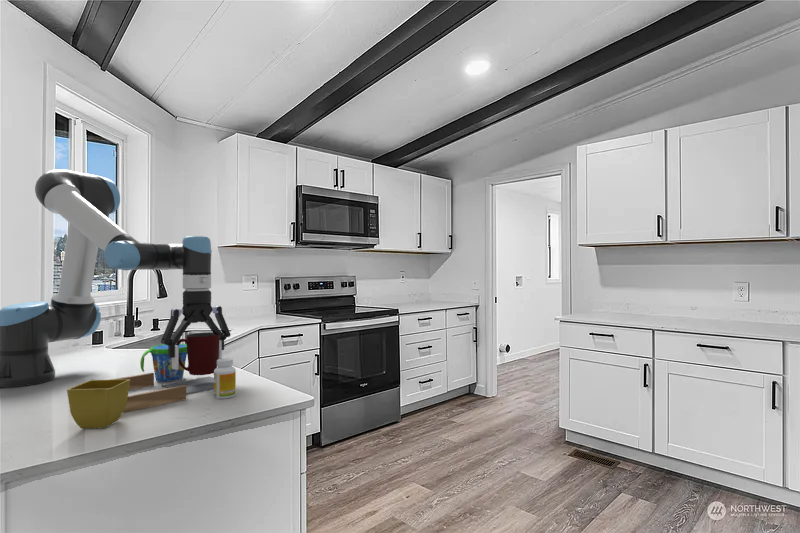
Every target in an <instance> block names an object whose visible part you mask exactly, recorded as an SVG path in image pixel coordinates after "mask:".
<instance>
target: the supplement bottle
mask: <svg viewBox="0 0 800 533" xmlns="http://www.w3.org/2000/svg"><path fill="white" fill-rule="evenodd" d="M233 365H234V359H233V358H227V357H226V358H222V359H218V360H217V368H216V369H215V370H214V373H213V378H214V389H213V398H214V399H219V400H224V399H231V398H233V397H235V396H236V394H237V390H236V385H237V384H236V382H237V381H236V373H237V372H236V367H234V366H233Z"/></svg>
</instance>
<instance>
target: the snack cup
mask: <svg viewBox="0 0 800 533" xmlns="http://www.w3.org/2000/svg"><path fill="white" fill-rule="evenodd" d="M149 353H150V354H151V357H152V364H153V365H152V366H153V373H154V379H155V380H156V381H158V382H166V383H167V382H174V381H179V380H181V379H182V378H183V377H184V374H185V370H184V369H183V368H182V367H181V365H180V364H179V369H178V370H175V369H172V358H170V357H169V356H168V345H165V344H156V345H152V346H151V347H150V348H149V349H147V350H145V351H144V353H143V354H142V355H141V358H140V369H141V371H142V372H143V373H144V372H145V369H144V368H145V357H146V356H147V355H148V354H149ZM179 356H180V359H181V362H182V363H183V365H184V366H185V367H186V361H187V357H188V356H187V344H186V343H180V344H179Z"/></svg>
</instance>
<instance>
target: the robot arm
mask: <svg viewBox="0 0 800 533" xmlns="http://www.w3.org/2000/svg"><path fill="white" fill-rule="evenodd" d="M34 192H35V196H36V199H37V200H38V202H39V203H40V204H41V205H42V206H43V207H44V208H45V209H47V210H48V211H49V212H51V213H52V214H56V215H60V216H61V217H62V218H63V219H64V220H66V222H68V228H67V229H68V230H67V237H66V242H65V247H64V249H65V250H64V257H63V263H62V267H61V275H60V280H59V282H60V283H59V286H58V292H57V293H56V294H53V296H52V297H51V298H50V304H49V303H48V302H47V301H43V300H42V301H41V300H40V301H37V300H35V301H29V302H21V303H20V302H19V303H14V304H10V305H6V306H4V307H2V308H1V309H0V388H16V387H24V386H32V385H37V384H42V383H47V382H49V381H52V380H54V379H55V378H56V369H55V366H54V364H53V362H52V360H51V357H50V355H49V343H55V342H56V343H57V342H62V341H68V340H69V341H70V340H79V339H82V338H85V337H86V338H87V337H89V336H91V335H92V334H94V333H95V332H96V331H97V330H98V328H99V326H100V323H101V319H102V314H101V312H100V310H101V309H100V308H99V306H98V305H97V304H96V303H95V302H96V300H95V298H94V297H93V296H92V295H91V292H92V286H93V282H94V275H95V268H96V263H97V256H98V251H99V249H101V250H102V251H103V254H104V255H103V257H104V260H105V261H106V265H107V266H108V267H109V268H111V269H113V270H122V271H133V270H134V271H136V270H139V271H140V270H141V271H143V270H146V271H147V270H148V271H149V270H150V271H151V270H158V271H168V270H182V290H184V291H183V292H182V308H180V309H177V308H171V310H170V318H169V320H168V323H167V325H166V326H165V330H164V332H163V334H162V338H161V340H160V344H161V345H163V344H165V345H168V356H169V357H170V358H172V369H175V370H178V369H179V350H178V346H177V345H176V343H177V342H178V340H180V339H181V337H182V336H183V334H184V333H185V331H186V330H187V329H188V327H189V326H191V324H197V323H204V324H206V326H207V327H208V328H209V329H210V331H211V333H214V334H215V335H218V334H219V352H218V359H223V358H222V357H223V356H222V355H223V353H222V352H223V351H224V350H225V340H226V339H227V338H230V337H231V335H232V334H231V332H230V330H229V328H228V324H227V322H226V320H225V317H224V315H223V307H222V306H221V305H214V306H212V291H211V290H210V289H211V288H212V243H211V239H210V238H209V237H208V236H202V235H186V236H184V237H183V238H182V242H181V243H159V242H158V243H155V242H143V241H142V242H141V241H138V240H136V239H135V238H134V237H133V236H131V235H130V234H129V233H127V232H126V231H125V230H124V229H123V228H122V227H120V226H119V225H117V224H116V223H115V222H114V221H112V219H110V218H109V217H110V215H111V214H113V213H115V212H116V211H117V210H119V207H120V204H121V194H120V191H119V188H118V187H117V185H116V183H115V182H114V181H113V180H111V179H109V178H107V177H103V176H100V175H96V174H90V173H83V172H78V171H74V170H73V171H72V170H69V169H65V168H63V169H62V168H61V169H51V170H49V171H46V172H44V173H43V174H42V175H40V177H38V179H37V181H36V182H35V185H34ZM211 313H212V314H213V315H214V316H215V319H216V322H217V324H218V326H219V327H218V326H217V324H216V323H215V322H214V320H213V318H212V317H211V316H210V315H211ZM182 315H183V316H184V317H182V318H183V319H182V320H181V322H180V324H179V325H178V326H177V324H178V321H179V319H180V318H179V317H181V316H182ZM176 326H177V328H176ZM175 328H176V330H175Z"/></svg>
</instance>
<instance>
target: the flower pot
mask: <svg viewBox="0 0 800 533" xmlns="http://www.w3.org/2000/svg"><path fill="white" fill-rule="evenodd" d="M129 385H130V379H118V380H110V379H91V380H87V381H85V382H83V383H80V384H77V385H75V386H72V387H70V388H68V389H66V392H67V400H68V407H69V411H70V414H71V417H72V419H73V420H74V422H75V423H76V425H77V426H78V427H79V428H81V429H83V430H86V429H87V430H88V429H106V428H108V427H110V426H112V425H113V424H114V423H117V422H118V421H119V419H120V418H121V416H122V415H123V411H124V409H125V406H126V403H127V399H128V396H129V391H130V390H129Z"/></svg>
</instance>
